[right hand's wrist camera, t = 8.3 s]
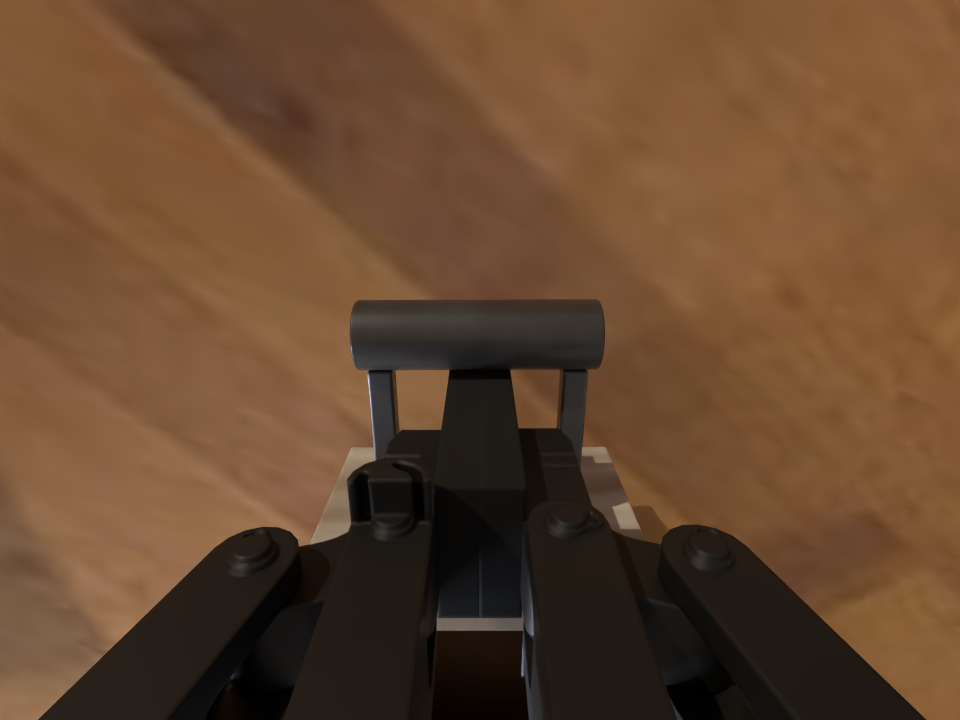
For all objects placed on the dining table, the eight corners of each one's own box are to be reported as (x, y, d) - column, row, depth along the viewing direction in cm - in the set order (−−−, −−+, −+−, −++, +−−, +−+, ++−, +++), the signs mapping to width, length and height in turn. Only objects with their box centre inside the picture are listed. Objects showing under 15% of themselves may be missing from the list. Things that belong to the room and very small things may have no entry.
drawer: (332, 270, 16) (244, 342, 10) (623, 269, 16) (710, 340, 10) (388, 806, 25) (360, 1010, 19) (571, 805, 25) (599, 1009, 19)
